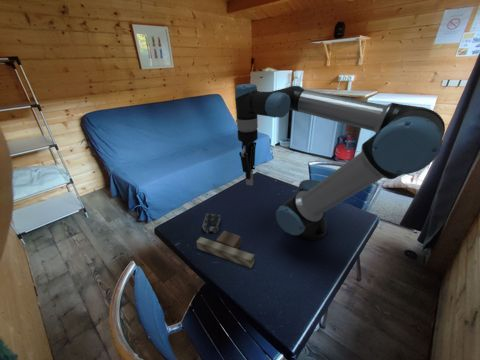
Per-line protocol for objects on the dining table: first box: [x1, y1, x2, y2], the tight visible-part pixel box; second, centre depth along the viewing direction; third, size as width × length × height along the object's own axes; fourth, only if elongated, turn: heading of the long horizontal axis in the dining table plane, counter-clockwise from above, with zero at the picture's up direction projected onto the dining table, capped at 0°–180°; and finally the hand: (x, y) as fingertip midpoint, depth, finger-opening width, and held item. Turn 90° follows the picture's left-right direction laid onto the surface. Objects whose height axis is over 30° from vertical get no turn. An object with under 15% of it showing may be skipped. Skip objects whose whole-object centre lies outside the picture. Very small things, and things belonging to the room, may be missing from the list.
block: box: [215, 230, 242, 250], centre depth 92 cm, size 8×6×5 cm
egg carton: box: [201, 213, 221, 234], centre depth 104 cm, size 11×8×4 cm
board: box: [195, 236, 255, 269], centre depth 88 cm, size 24×3×4 cm, turn 64°
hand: (249, 184), depth 95 cm, fingers closed
